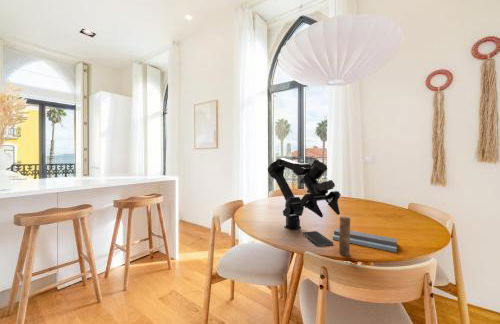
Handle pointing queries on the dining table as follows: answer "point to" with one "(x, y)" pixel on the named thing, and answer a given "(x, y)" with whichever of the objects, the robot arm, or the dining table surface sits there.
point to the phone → (317, 238)
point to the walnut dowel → (344, 236)
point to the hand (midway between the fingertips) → (330, 215)
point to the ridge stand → (369, 240)
